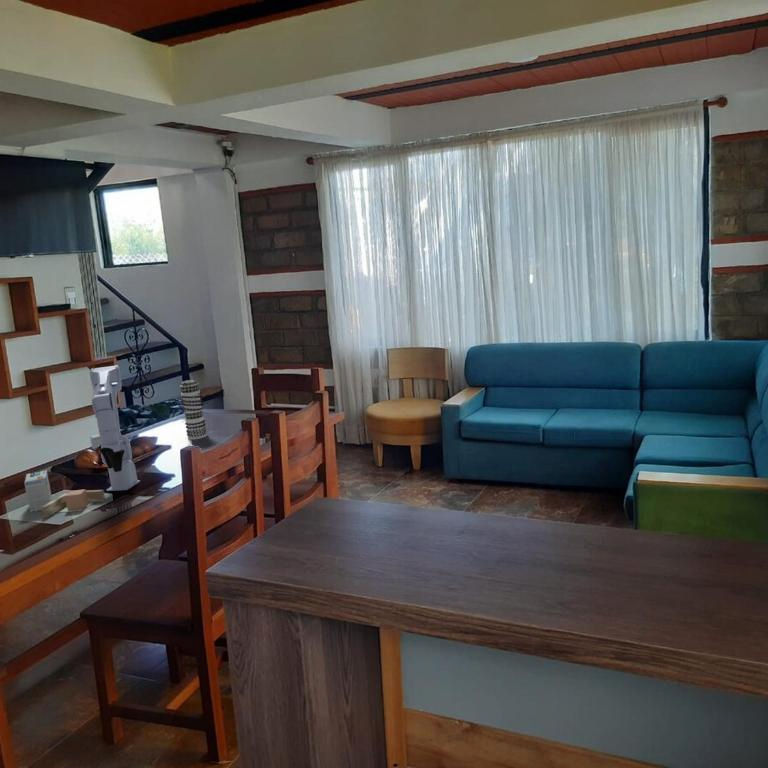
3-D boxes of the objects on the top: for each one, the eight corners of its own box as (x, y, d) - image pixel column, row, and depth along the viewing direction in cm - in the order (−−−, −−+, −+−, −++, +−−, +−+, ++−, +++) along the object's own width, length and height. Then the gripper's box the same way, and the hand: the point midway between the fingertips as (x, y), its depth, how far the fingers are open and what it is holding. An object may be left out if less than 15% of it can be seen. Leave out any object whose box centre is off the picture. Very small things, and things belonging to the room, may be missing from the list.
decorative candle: (211, 436, 326) (202, 380, 321) (191, 440, 321) (182, 384, 316) (203, 432, 334) (195, 378, 329) (183, 437, 329) (174, 382, 324)
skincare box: (97, 467, 294) (91, 437, 291) (94, 465, 297) (89, 436, 295) (113, 463, 297) (107, 434, 295) (110, 461, 301) (105, 432, 298)
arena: (70, 501, 254) (68, 491, 253) (105, 499, 252) (103, 489, 251) (43, 517, 240) (41, 507, 239) (80, 516, 237) (78, 505, 237)
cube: (73, 505, 249) (70, 490, 248) (88, 503, 249) (85, 489, 248) (67, 510, 244) (65, 495, 243) (83, 508, 244) (80, 494, 243)
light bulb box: (31, 503, 256) (25, 473, 254) (52, 499, 258) (47, 469, 256) (29, 512, 246) (23, 481, 244) (51, 508, 248) (45, 477, 246)
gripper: (126, 429, 242) (133, 470, 244) (114, 424, 254) (121, 463, 256) (104, 434, 238) (111, 475, 240) (93, 429, 250) (100, 468, 252)
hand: (115, 469), depth 248 cm, fingers open, 7 cm apart
